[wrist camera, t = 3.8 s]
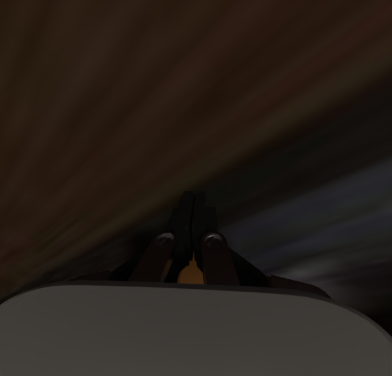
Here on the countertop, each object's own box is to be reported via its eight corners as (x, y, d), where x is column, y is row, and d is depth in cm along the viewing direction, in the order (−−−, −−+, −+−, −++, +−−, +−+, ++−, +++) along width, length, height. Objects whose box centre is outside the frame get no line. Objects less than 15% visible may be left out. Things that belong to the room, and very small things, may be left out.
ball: (232, 309, 9) (222, 296, 14) (233, 222, 12) (224, 236, 16) (147, 294, 10) (166, 286, 14) (167, 214, 12) (177, 230, 17)
